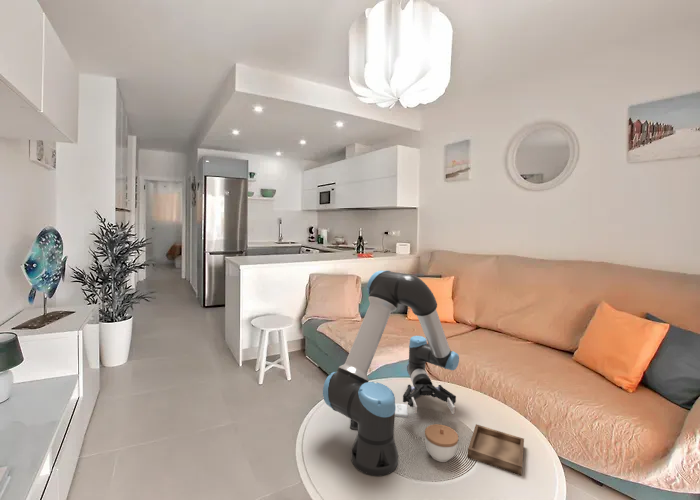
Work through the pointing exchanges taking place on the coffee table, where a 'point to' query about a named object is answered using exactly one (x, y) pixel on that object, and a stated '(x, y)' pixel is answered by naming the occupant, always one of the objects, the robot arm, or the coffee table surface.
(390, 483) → the coffee table surface
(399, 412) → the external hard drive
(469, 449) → the walnut tray
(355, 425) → the phone
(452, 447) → the lidded jar
